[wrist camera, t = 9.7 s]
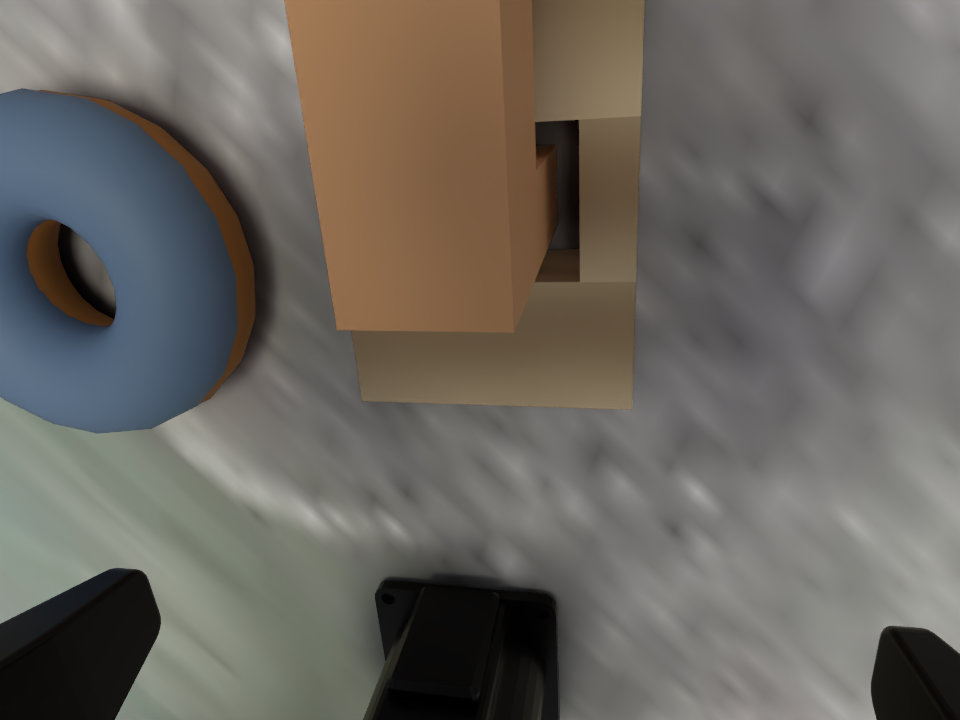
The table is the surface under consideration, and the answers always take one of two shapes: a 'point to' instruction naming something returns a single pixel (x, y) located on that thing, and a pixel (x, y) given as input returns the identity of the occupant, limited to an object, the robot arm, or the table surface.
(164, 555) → the table surface
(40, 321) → the doughnut
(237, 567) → the table surface
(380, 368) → the rail
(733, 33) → the table surface
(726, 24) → the table surface
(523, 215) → the tan wooden block
